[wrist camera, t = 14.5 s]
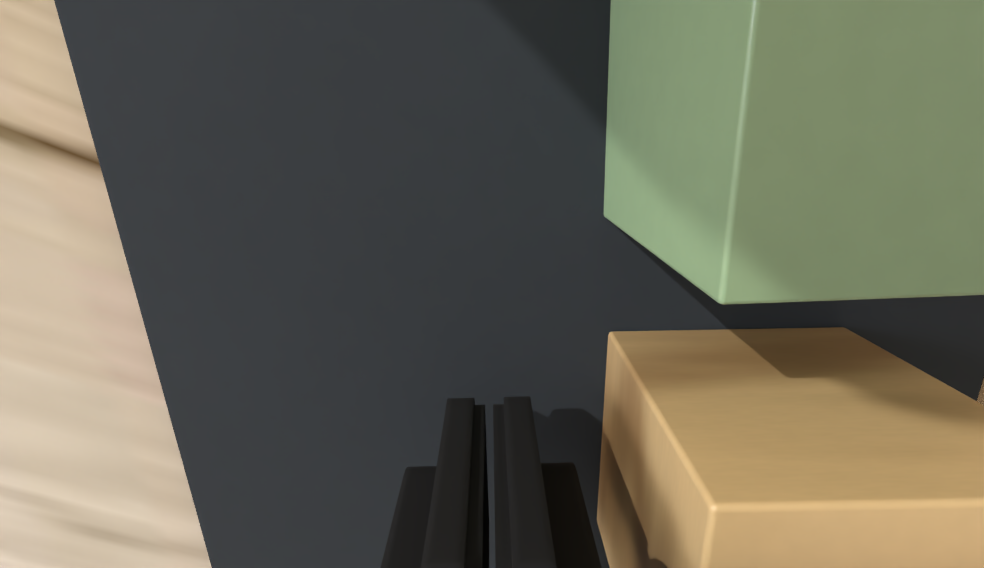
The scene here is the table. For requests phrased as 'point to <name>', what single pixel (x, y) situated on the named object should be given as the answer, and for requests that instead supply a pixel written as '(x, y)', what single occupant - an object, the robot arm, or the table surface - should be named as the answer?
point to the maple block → (784, 454)
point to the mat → (388, 248)
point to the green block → (801, 145)
